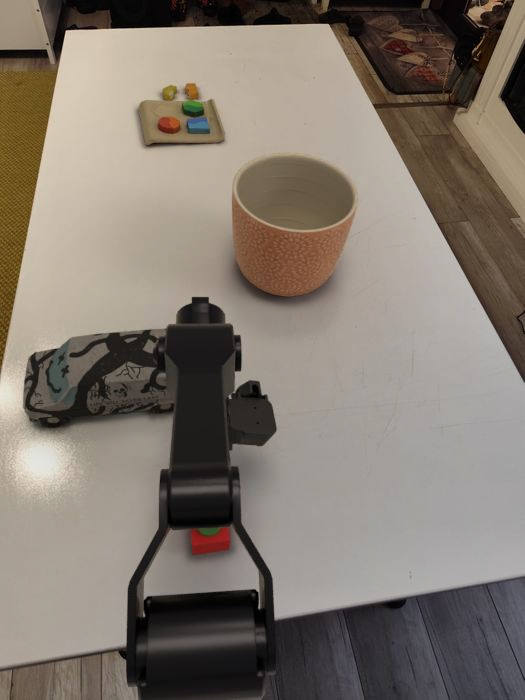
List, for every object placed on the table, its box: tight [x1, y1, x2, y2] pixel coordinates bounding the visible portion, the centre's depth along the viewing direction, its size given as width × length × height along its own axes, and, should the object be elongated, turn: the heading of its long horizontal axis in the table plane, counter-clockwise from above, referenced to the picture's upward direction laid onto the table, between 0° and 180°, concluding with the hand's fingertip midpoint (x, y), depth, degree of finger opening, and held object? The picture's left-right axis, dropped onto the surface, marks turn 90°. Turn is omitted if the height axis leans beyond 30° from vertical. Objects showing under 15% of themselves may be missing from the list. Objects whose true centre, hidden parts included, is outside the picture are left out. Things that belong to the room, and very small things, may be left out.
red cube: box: [190, 527, 231, 556], centre depth 68 cm, size 5×5×5 cm
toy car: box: [22, 327, 174, 429], centre depth 78 cm, size 11×25×10 cm, turn 100°
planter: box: [231, 152, 359, 297], centre depth 93 cm, size 21×21×19 cm
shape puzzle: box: [138, 82, 226, 146], centre depth 128 cm, size 25×19×3 cm
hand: (203, 463), depth 69 cm, fingers closed
